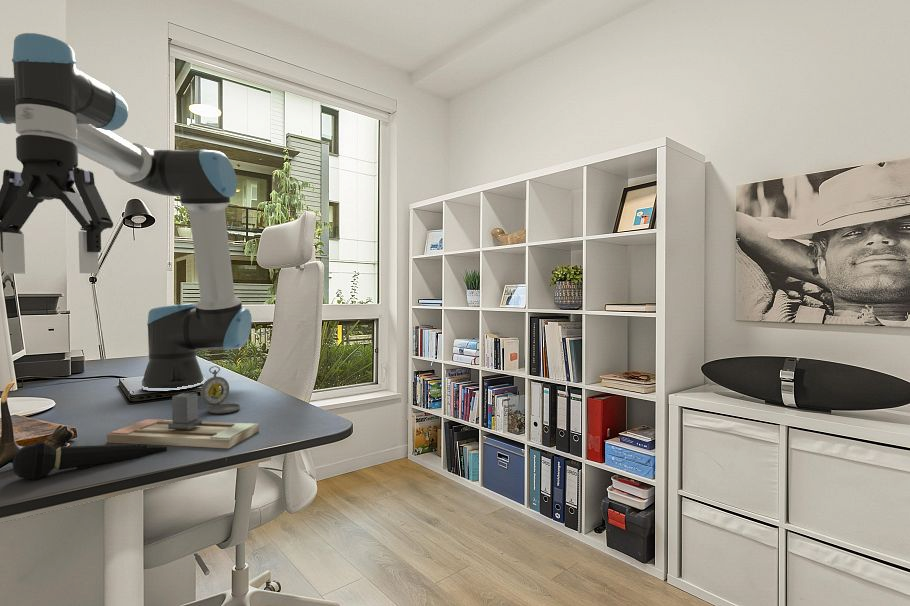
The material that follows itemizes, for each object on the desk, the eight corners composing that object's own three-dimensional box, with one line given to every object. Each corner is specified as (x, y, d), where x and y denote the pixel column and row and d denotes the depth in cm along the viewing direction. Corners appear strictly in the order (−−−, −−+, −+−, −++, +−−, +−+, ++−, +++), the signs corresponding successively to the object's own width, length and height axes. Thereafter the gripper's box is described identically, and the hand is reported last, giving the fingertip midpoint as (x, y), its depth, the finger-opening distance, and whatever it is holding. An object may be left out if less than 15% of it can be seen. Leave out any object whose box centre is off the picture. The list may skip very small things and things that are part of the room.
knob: (183, 422, 94) (182, 392, 94) (202, 423, 94) (201, 393, 94) (168, 428, 90) (167, 397, 90) (188, 429, 90) (187, 397, 90)
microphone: (161, 466, 86) (8, 483, 72) (163, 433, 87) (13, 443, 74) (170, 465, 82) (10, 483, 68) (171, 430, 83) (15, 440, 70)
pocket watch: (232, 415, 107) (231, 370, 107) (194, 415, 107) (193, 370, 107) (247, 405, 116) (247, 364, 115) (212, 405, 116) (211, 364, 115)
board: (148, 426, 99) (148, 417, 98) (258, 431, 96) (258, 421, 95) (106, 442, 89) (106, 432, 89) (228, 448, 86) (228, 437, 86)
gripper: (-47, 135, 75) (-42, 272, 76) (97, 129, 72) (101, 272, 72) (4, 149, 82) (8, 274, 83) (137, 143, 79) (140, 273, 80)
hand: (51, 273), depth 78 cm, fingers open, 13 cm apart
